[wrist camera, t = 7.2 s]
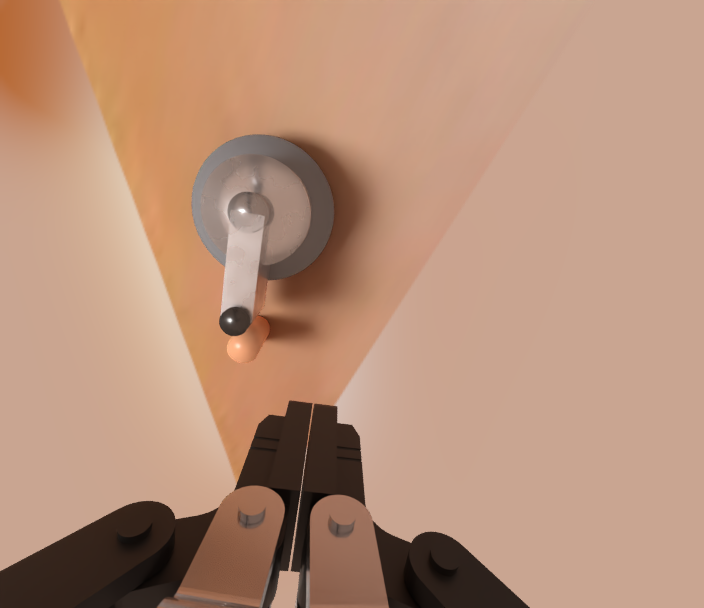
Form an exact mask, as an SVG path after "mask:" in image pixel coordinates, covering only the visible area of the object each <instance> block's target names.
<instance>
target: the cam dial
mask: <svg viewBox="0 0 704 608" xmlns="http://www.w3.org/2000/svg"><path fill="white" fill-rule="evenodd" d="M201 216H202V220H203V224H204V227H205V229H206V232H207V233H208V235H209V237H210V239H211V240H212V241H213V243H214V244H215V245H216V246H217V247H218V249H220V250H221V251H222V252H223V253H224V254H226V265H225V275H224V285H223V295H222V306H221V316H220V319H219V324H220V327H221V329H222V330H223V331H224V332H225V333H226V334H228V335H230V336H239V335H242V334H243V333H245V331H246V330H247V329H248V327H249V326H250V325H251V323H252V322H253V321H254V319H255V318H256V317H257V315H258V314H259V313H260V311H261V310H262V308H263V307H264V306H265V298H266V290H267V283H268V275H269V267H270V264H274V263H277V262H279V261H282V260H284V259H285V258H287V257H289V256H290V255H291V254H292V253H294V252H295V250H296V249H297V248H298V247H299V246H300V245H301V244H302V243H303V241H304V240H305V238H306V236H307V234H308V232H309V230H310V227H311V222H312V204H311V199H310V196H309V193H308V191H307V188H306V187H305V185H304V183H303V182H302V180H301V179H300V178H299V176H298V175H297V174H296V173H295V172H294V171H292V170H291V169H290V168H289V167H287V166H286V165H284V164H283V163H281V162H279V161H278V160H276V159H273V158H271V157H268V156H265V155H260V154H243V155H238V156H235V157H232V158H230V159H228V160H226V161H224V162H223V163H221V164H220V165H219V166H218V167H217V168H216V169H215V170H214V171H213V172H212V173H211V174H210V176H209V178H208V179H207V181H206V183H205V185H204V188H203V191H202V196H201Z"/></svg>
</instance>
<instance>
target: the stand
mask: <svg viewBox="0 0 704 608" xmlns="http://www.w3.org/2000/svg"><path fill="white" fill-rule="evenodd" d="M243 154H260V155H265V156H268V157H271V158H273V159H276V160H278V161H279V162H281V163H283V164H284V165H286V166H287V167H289V168H290V169H291V170H292V171H294V172H295V173H296V174H297V175H298V176H299V178H300V179H301V180H302V182H303V183H304V185H305V187H306V188H307V191H308V193H309V196H310V199H311V204H312V222H311V227H310V230H309V232H308V234H307V236H306V238H305V240H304V241H303V243H302V244H301V245H300V246H299V247H298V248H297V249H296V250H295V252H294V253H292V254H291V255H290V256H289V257H287V258H285V259H284V260H282V261H279V262H277V263H274V264H270V267H269V275H268V280H277V279H282V278H286V277H290V276H292V275H295V274H297V273H299V272H300V271H302V270H304V269H305V268H307V267H308V266H309V265H310V264H312V263H313V262H314V261H315V260H316V259H317V257H318V256H319V255H320V254H321V252H322V251H323V249H324V247H325V246H326V244H327V242H328V239H329V237H330V234H331V231H332V227H333V222H334V201H333V196H332V192H331V189H330V186H329V184H328V181H327V179H326V177H325V176H324V174H323V172H322V170H321V169H320V168H319V166H318V165H317V163H316V162H315V161H314V160H313V159H312V158H311V157H310V156H309V155H308V154H307V153H306V152H305V151H303V150H302V149H301V148H299V147H298V146H296V145H294V144H293V143H291V142H289V141H286V140H284V139H281V138H278V137H275V136H269V135H247V136H242V137H239V138H235V139H233V140H231V141H228V142H226V143H225V144H223V145H222V146H220V147H218V148H217V149H216V150H215V151H214V152H213V153H211V155H210V156H209V157H208V158H207V159H206V160H205V162H204V163H203V165H202V167H201V168H200V170H199V172H198V174H197V177H196V179H195V183H194V186H193V192H192V214H193V219H194V223H195V226H196V229H197V232H198V234H199V236H200V238H201V240H202V242H203V244H204V245H205V246H206V248H207V249H208V251H209V252H210V253H211V254H212V255H213V257H214V258H216V259H217V260H218V261H219V262H220V263H221V264H222V265H224V266H225V265H226V254H224V253H223V252H222V251H221V250H220V249H218V247H217V246H216V245H215V244H214V243H213V241H212V240H211V239H210V237H209V235H208V233H207V232H206V229H205V227H204V224H203V220H202V216H201V196H202V191H203V188H204V185H205V183H206V181H207V179H208V178H209V176H210V174H211V173H212V172H213V171H214V170H215V169H216V168H217V167H218V166H219V165H220V164H221V163H223V162H224V161H226V160H228V159H230V158H232V157H235V156H238V155H243ZM269 332H270V325H269V323H268V321H267V320H266V319H265V318H263V317H261V316H257V317H256V318H255V319H254V321H253V322H252V323H251V325H250V326H249V327H248V329H247V330H246V331H245V333H243V334H242V335H239V336H233V337H232V338H231V339H230V340H229V342H228V344H227V352H228V354H229V356H230V357H231V358H232V359H233V360H234V361H236V362H238V363H249V362H251V361H253V360H254V359H255V358H256V356H257V354H258V353H259V351H260V349H261V347H262V345H263V343H264V342H265V340H266V338H267V336H268V334H269Z"/></svg>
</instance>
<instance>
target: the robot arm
mask: <svg viewBox="0 0 704 608" xmlns="http://www.w3.org/2000/svg"><path fill="white" fill-rule="evenodd" d="M311 410H312V403H306V402H298V401H289V404H288V408H287V412H286V416H285V417H283V416H275V415H269V416H267V417H266V418H265V419H264V420H263V421H262V422H261V423H259V425H258V427H257V430H256V433H255V436H254V439H253V441H252V444H251V447H250V449H249V452H248V455H247V458H246V460H245V463H244V466H243V469H242V471H241V474H240V477H239V480H238V482H237V485H236V488H235V490H234V491H233V492H232V493H230V494H229V495H228V496H226V498H225V499H224V500H223V501H222V503H221V504H220V506H219V507H218V508H217V509H215V510H213V511H211V512H209V513H205V514H202V515H198V516H192V517H188V518H187V517H186V518H181V519H175V516H174V513H173V512H172V510H171V509H170V508H169V507H168V506H166V505H164V504H162V503H159V502H153V501H142V502H137V503H132V504H129V505H126V506H124V507H122V508H120V509H118V510H116V511H114V512H112V513H110V514H108V515H106V516H104V517H102V518H101V519H99V520H97V521H95V522H93V523H91V524H89V525H87V526H85V527H83V528H82V529H80V530H78V531H76V532H74V533H72V534H70V535H68V536H67V537H65V538H63V539H61V540H59V541H57V542H55V543H53V544H51V545H50V546H47V547H46V548H44V549H42V550H40V551H38V552H36V553H34V554H32V555H30V556H28V557H27V558H25V559H23V560H21V561H19V562H17V563H15V564H13V565H11V566H9V567H8V568H6V569H4V570H2V571H0V608H271V604H272V601H273V599H274V597H275V594H276V590H277V584H278V578H279V571H280V570H281V571H288V568H289V562H290V555H291V549H292V542H293V536H294V530H295V522H296V517H297V510H298V504H299V497H300V491H301V483H302V476H303V469H304V462H305V454H306V447H307V440H308V432H309V425H310V418H311ZM360 450H361V448H360V437H359V435H358V433H357V432H356V430H355V429H354V427H353V426H352V425H348V424H340V423H337V406H330V405H322V404H314V409H313V416H312V422H311V429H310V435H309V441H308V448H307V455H306V462H305V469H304V476H303V484H302V491H301V499H300V507H299V515H298V522H297V529H296V537H295V545H294V552H293V560H292V567H291V571H294V572H300V575H299V584H298V592H297V599H296V605H295V608H530V607H528V606H527V605H526V604H525V603H524V602H523V601H522V600H521V599H520V598H519V597H517V595H515V594H514V593H513V592H512V591H511V590H510V589H509V588H508V587H507V586H506V585H505V584H503V583H502V582H501V581H500V580H499V579H498V578H497V577H496V576H495V575H494V574H493V573H492V572H490V571H489V570H488V569H487V568H486V567H485V566H484V565H483V564H482V563H481V562H480V561H478V560H477V559H476V558H475V557H474V556H473V555H472V554H471V553H470V552H469V551H468V550H467V549H466V548H464V547H463V546H462V545H461V544H460V543H459V542H457V541H456V540H454V539H453V538H451V537H449V536H447V535H445V534H442V533H437V532H425V533H422V534H420V535H418V536H416V537H415V538H414V539H413V541H412V543H410V542H407V541H405V540H402V539H400V538H398V537H395V536H393V535H391V534H389V533H387V532H385V531H384V530H382V529H381V528H380V527H379V526H377V525H376V524H375V522H374V521H373V520H372V517H371V515H370V512H369V511H368V510H367V509H366V506H365V496H364V484H363V473H362V462H361V451H360Z"/></svg>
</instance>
